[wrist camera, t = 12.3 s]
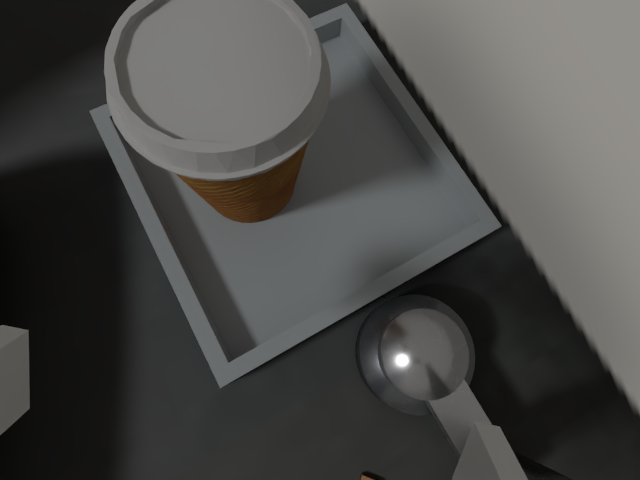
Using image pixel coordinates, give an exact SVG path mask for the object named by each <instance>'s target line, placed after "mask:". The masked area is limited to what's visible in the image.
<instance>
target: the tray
mask: <svg viewBox="0 0 640 480" xmlns="http://www.w3.org/2000/svg"><path fill="white" fill-rule="evenodd" d="M309 20H310V22H311V24H312V26H313V28H314V30H315V32H316V34H317V36H318V39H319V41H320V42H321V44H322V46H323V48H324V51H325V53H326V56H327V59H328V62H329V67H330V75H331V88H330V97H329V101H328V105H327V109H326V113H325V115H324V117H323V119H322V120H321V122H320V124H319V126H318V128H317V129H316V131H315V133H314V135H313V136H312V137H311V138H310V139H309V141H308V145H307V148H306V150H305V154H304V158H303V161H302V164H301V168H300V171H299V174H298V177H297V181H296V184H295V187H294V191H293V194H292V196H291V198H290V200H289V202H288V203H287V205H286V206H285V207H284V208H283V209H282V210H281V211H280V212H279V213H277V214H276V215H274V216H273V217H271V218H269V219H267V220H264V221H260V222H254V223H241V222H236V221H232V220H230V219H228V218H226V217H224V216H222V215H221V214H219V213H218V212H217V211H216V210H215V209H214V208H213V207H212V206H211V205H209V204H208V203H207V202H206V201H205V200H204V199H203V198H202V197H200V196H199V195H198V194H197V193H196V192H195V191H194V190H193V189H191V188H190V187H189V186H188V185H187V184H186V183H185V182H183V181H182V179H180V178H179V177H178V176H177V175H176V174H174V173H172V172H170V171H168V170H166V169H163V168H161V167H159V166H157V165H155V164H153V163H151V162H150V161H149V160H147V159H146V158H145V157H143V156H142V155H141V154H139V153H138V152H137V151H136V150H135V149H134V148H133V147H132V146H131V145H130V144H129V143H128V142H127V141H126V140H125V139H124V137H123V136H122V134H121V132H120V131H119V129H118V128H117V126H116V125H115V123H114V121H113V118H112V115H111V112H110V109H109V106H108V103H107V104H105V105H102V106H100V107H98V108H95V109H93V110H91V111H89V112H90V114H91V116H92V118H93V120H94V122H95V124H96V127H97V129H98V131H99V133H100V135H101V137H102V139H103V141H104V143H105V146H106V148H107V150H108V152H109V154H110V156H111V158H112V160H113V163H114V165H115V167H116V169H117V171H118V173H119V175H120V177H121V179H122V182H123V184H124V186H125V188H126V190H127V192H128V194H129V196H130V199H131V201H132V203H133V205H134V207H135V209H136V211H137V213H138V215H139V218H140V220H141V222H142V224H143V226H144V228H145V230H146V232H147V235H148V237H149V239H150V241H151V243H152V245H153V247H154V249H155V251H156V254H157V256H158V258H159V260H160V262H161V264H162V266H163V268H164V271H165V273H166V275H167V277H168V279H169V281H170V283H171V285H172V287H173V290H174V292H175V294H176V296H177V298H178V300H179V302H180V304H181V307H182V309H183V311H184V313H185V315H186V317H187V319H188V321H189V323H190V326H191V328H192V330H193V332H194V334H195V336H196V338H197V340H198V343H199V345H200V347H201V349H202V351H203V353H204V355H205V357H206V359H207V362H208V364H209V366H210V368H211V370H212V372H213V374H214V376H215V379H216V381H217V383H218V385H219V387H220V388H221V387H223V386H225V385H227V384H229V383H231V382H232V381H234V380H236V379H238V378H239V377H241V376H243V375H245V374H246V373H248V372H250V371H251V370H253V369H255V368H257V367H258V366H260V365H262V364H264V363H265V362H267V361H269V360H271V359H272V358H274V357H276V356H278V355H279V354H281V353H283V352H284V351H286V350H288V349H290V348H291V347H293V346H295V345H297V344H298V343H300V342H302V341H304V340H305V339H307V338H309V337H311V336H312V335H314V334H316V333H318V332H319V331H321V330H323V329H324V328H326V327H328V326H330V325H331V324H333V323H335V322H337V321H338V320H340V319H342V318H344V317H345V316H347V315H349V314H351V313H352V312H354V311H356V310H357V309H359V308H361V307H363V306H364V305H366V304H368V303H370V302H371V301H373V300H375V299H377V298H378V297H380V296H382V295H384V294H385V293H387V292H389V291H390V290H392V289H394V288H396V287H397V286H399V285H401V284H403V283H404V282H406V281H408V280H410V279H411V278H413V277H415V276H417V275H418V274H420V273H422V272H424V271H425V270H427V269H429V268H430V267H432V266H434V265H436V264H437V263H439V262H441V261H443V260H444V259H446V258H448V257H450V256H451V255H453V254H455V253H457V252H458V251H460V250H462V249H463V248H465V247H467V246H469V245H470V244H472V243H474V242H476V241H477V240H479V239H481V238H483V237H484V236H486V235H488V234H489V233H491V232H493V231H494V230H496V229H498V228H499V227H501V224H500V223H499V221H498V220H497V219H496V217H495V216H494V214H493V213H492V211H491V210H490V209H489V207H488V206H487V204H486V203H485V201H484V200H483V198H482V197H481V196H480V194H479V193H478V191H477V190H476V188H475V187H474V186H473V184H472V183H471V181H470V180H469V178H468V177H467V175H466V174H465V173H464V171H463V170H462V168H461V167H460V165H459V164H458V163H457V161H456V160H455V158H454V157H453V155H452V154H451V152H450V151H449V150H448V148H447V147H446V145H445V144H444V142H443V141H442V140H441V138H440V137H439V135H438V134H437V132H436V131H435V129H434V128H433V127H432V125H431V124H430V122H429V121H428V119H427V118H426V117H425V115H424V114H423V112H422V111H421V109H420V108H419V106H418V105H417V104H416V102H415V101H414V99H413V98H412V96H411V95H410V94H409V92H408V91H407V89H406V88H405V86H404V85H403V83H402V82H401V81H400V79H399V78H398V76H397V75H396V73H395V72H394V71H393V69H392V68H391V66H390V65H389V63H388V62H387V60H386V59H385V58H384V56H383V55H382V53H381V52H380V50H379V49H378V47H377V46H376V45H375V43H374V42H373V40H372V39H371V37H370V36H369V35H368V33H367V32H366V30H365V29H364V27H363V26H362V24H361V23H360V22H359V20H358V19H357V17H356V16H355V14H354V13H353V12H352V10H351V9H350V7H349V6H348V4H347V3H346V4H343V5H341V6H338V7H336V8H334V9H331V10H329V11H326V12H324V13H322V14H319V15H317V16H315V17H312V18H310V19H309Z"/></svg>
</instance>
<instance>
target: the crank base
mask: <svg viewBox="0 0 640 480" xmlns="http://www.w3.org/2000/svg"><path fill="white" fill-rule="evenodd" d="M422 308H424V309H431V310H435V311H438V312H440V313H442V314H444V315H446V316H447V317H449V318H450V319H451V320H452V321H454V322H455V323H456V325H457V326H458V327H459V328H460V330H461V331H462V333H463V335H464V337H465V339H466V342H467V345H468V350H469V366H468V370H467V373H466V376H465V378H464V380H465V381H466V383H467V385H468V386H469V385H470V382H471V380H472V377H473V373H474V368H475V350H474V344H473V341H472V337H471V335H470V333H469V330H468V328H467V327H466V325H465V323H464V322H463V320H462V319H461V318H460V317H459V315H458V314H457V313H456V312H455V311H454V310H453V309H451V308H450V307H449V306H447V305H446V304H444V303H443V302H441V301H439V300H437V299H435V298H432V297H429V296H424V295H415V294H414V295H404V296H399V297H396V298H393V299H391V300H389V301H387V302H385V303H383V304H382V305H380V306H378V307H377V308H375V309H374V310H373V311H372V312H371V313H370V314H369V315H368V316H367V318H366V319H365V321H364V322H363V324H362V326H361V328H360V330H359V333H358V336H357V341H356V351H355V352H356V361H357V366H358V369H359V372H360V375H361V377H362V379H363V381H364V382H365V384H366V386H367V387H368V388H369V389H370V391H371V392H372V393H373V394H374V395H375V396H376V397H377V398H379V399H380V400H382V401H383V402H384V403H386V404H387V405H389V406H390V407H392V408H394V409H396V410H398V411H400V412H403V413H406V414H410V415H418V416H424V415H432V413H431V411H430V410H429V408H428V406H427V404H426V403H425V401H424V400H419V399H415V398H412V397H410V396H408V395H406V394H404V393H402V392H400V391H399V390H397V389H396V388H394V387H393V386H392V385H391V384H390V383H389V381H388V380H387V379H386V377H385V376H384V374H383V372H382V370H381V367H380V365H379V360H378V342H379V338H380V335H381V333H382V331H383V329H384V328H385V326H386V325H387V324H388V322H389V321H390V320H392V319H393V318H394V317H396V316H397V315H399V314H401V313H404V312H407V311H410V310H413V309H422ZM360 480H376V479H374V478H371V477H369V476H366V475H364V474H361V477H360Z"/></svg>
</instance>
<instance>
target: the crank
mask: <svg viewBox="0 0 640 480" xmlns="http://www.w3.org/2000/svg"><path fill="white" fill-rule="evenodd" d="M378 360H379V365H380V367H381V370H382V372H383V374H384V376H385V377H386V379H387V380H388V381H389V383H390V384H391V385H392V386H393V387H394V388H396V389H397V390H399V391H400V392H402V393H404V394H406V395H408V396H410V397H412V398H415V399H419V400H424V401H425V403H426V404H427V406H428V408H429V410H430V411H431V413H432V415H433V416H434V418H435V420H436V422H437V423H438V425H439V427H440V428H441V430H442V432H443V434H444V435H445V437H446V439H447V440H448V442H449V444H450V446H451V447H452V449H453V451H454V452H455V454H456V456H457V458H458V459H460V457H461V454H462V451H463V449H464V446H465V444H466V441H467V438H468V436H469V433H470V431H471V428H472V425H473V423H474V421H475V422H480V423H485V424H490V425H492V424H491V422H490V420H489V419H488V417H487V416H486V414H485V412H484V411H483V409H482V407H481V406H480V404H479V402H478V401H477V399H476V398H475V396H474V394H473V393H472V391H471V389H470V388H469V386H468V385H467V383H466V381H465V380H464V378H465V376H466V373H467V370H468V366H469V350H468V345H467V342H466V339H465V337H464V335H463V333H462V331H461V330H460V328H459V327H458V326H457V325H456V323H455V322H454V321H452V320H451V319H450V318H449V317H447V316H446V315H444V314H442V313H440V312H438V311H435V310H431V309H424V308H422V309H413V310H410V311H407V312H404V313H401V314H399V315H397V316H396V317H394V318H393V319H392V320H390V321H389V322H388V324H387V325H386V326H385V328H384V329H383V331H382V333H381V335H380V338H379V342H378ZM513 452H514V454H515V456H516V458H517V460H518V462H519V464H520V466H521V467H522V469H523V471H524V473H525V475H526V477H527V479H528V480H572V479H570V478H568V477H566V476H564V475H562V474H560V473H558V472H556V471H554V470H552V469H550V468H548V467H546V466H543V465H541V464H539V463H537V462H535V461H533V460H531V459H529V458H527V457H525V456H523V455H521V454H519V453H517V452H515V451H513Z"/></svg>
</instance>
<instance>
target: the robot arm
mask: <svg viewBox="0 0 640 480" xmlns="http://www.w3.org/2000/svg"><path fill="white" fill-rule="evenodd" d="M29 409H30V388H29V330H25V329H20V328H16V327H11V326H6V325H1V326H0V435H1V434H2V433H3V432H5V431H6V430H7V429H8V428H9V427H10V426H11V425H12V424H13V423H14V422H16V421H17V420H18V419H19V418H20V417H21V416H22V415H23V414H24V413H25V412H26V411H28V410H29ZM452 480H528V479H527V477H526V475H525V473H524V471H523V469H522V467H521V466H520V464H519V462H518V460H517V458H516V456H515V454H514V452H513V450H512V449H511V447H510V445H509V443H508V441H507V439H506V437H505V435H504V434H503V432H502V430H501V428H500V426H495V425H490V424H485V423H480V422H475V421H474V423H473V425H472V428H471V431H470V433H469V436H468V438H467V441H466V444H465V446H464V449H463V451H462V454H461V457H460V459H459V462H458V464H457V467H456V470H455V472H454V475H453V477H452Z"/></svg>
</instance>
